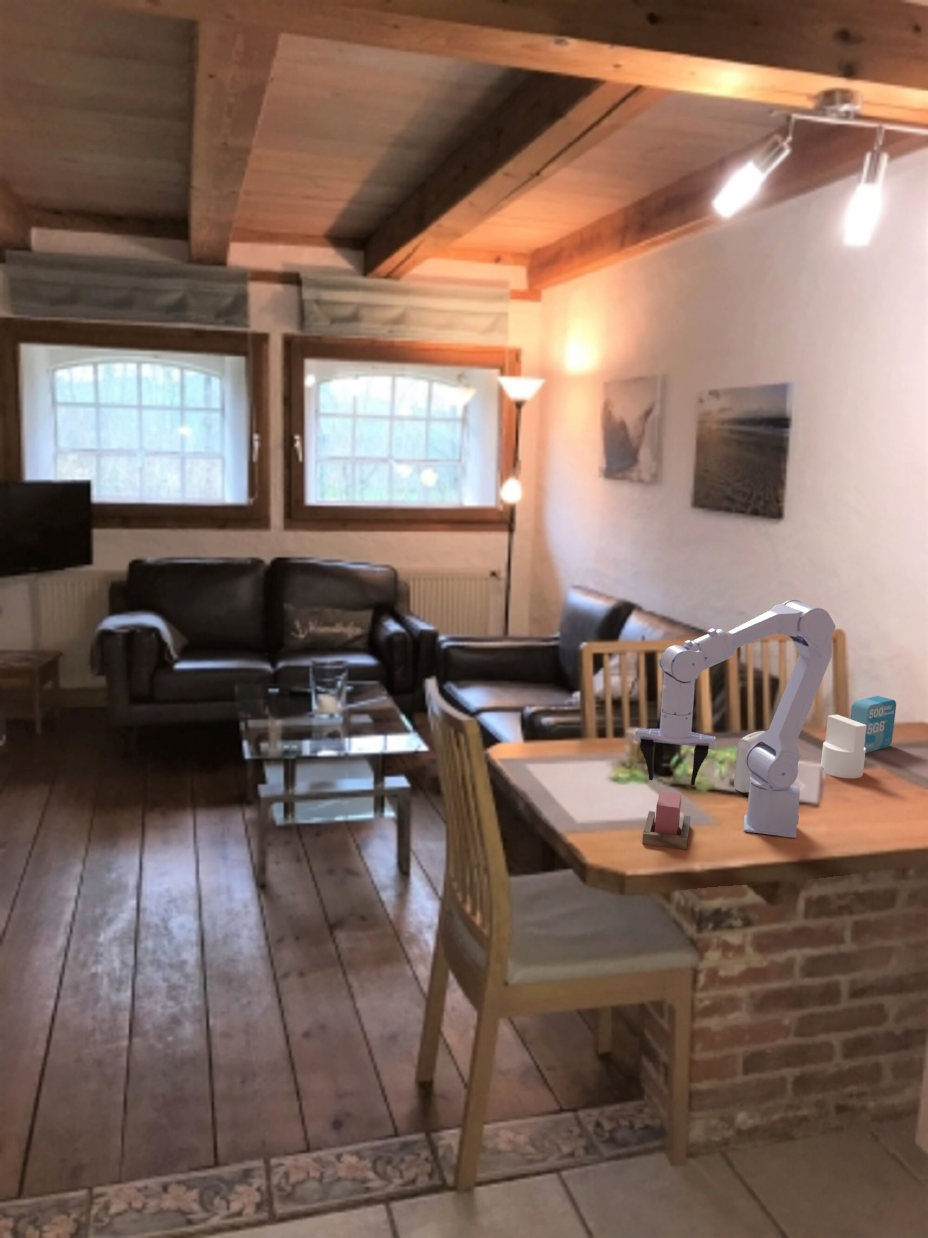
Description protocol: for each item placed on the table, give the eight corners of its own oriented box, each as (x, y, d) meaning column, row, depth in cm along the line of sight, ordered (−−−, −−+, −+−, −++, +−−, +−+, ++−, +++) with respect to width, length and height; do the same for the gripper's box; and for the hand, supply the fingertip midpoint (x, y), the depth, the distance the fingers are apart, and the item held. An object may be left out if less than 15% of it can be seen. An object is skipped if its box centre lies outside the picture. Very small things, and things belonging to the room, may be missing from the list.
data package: (862, 754, 240) (868, 705, 238) (846, 749, 244) (851, 701, 241) (891, 746, 247) (897, 699, 244) (875, 741, 250) (880, 694, 248)
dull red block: (679, 827, 193) (681, 792, 192) (675, 843, 185) (678, 807, 184) (657, 824, 194) (660, 790, 193) (654, 840, 186) (656, 805, 185)
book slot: (689, 826, 193) (690, 816, 193) (685, 849, 183) (686, 839, 182) (648, 820, 196) (649, 811, 195) (642, 843, 185) (642, 833, 184)
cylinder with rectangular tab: (812, 767, 229) (817, 716, 227) (841, 762, 233) (846, 713, 231) (841, 780, 222) (847, 728, 219) (871, 775, 225) (877, 724, 223)
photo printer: (762, 780, 220) (767, 726, 218) (778, 786, 216) (783, 731, 214) (730, 788, 214) (735, 733, 212) (745, 795, 211) (751, 738, 208)
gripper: (717, 709, 187) (712, 778, 190) (639, 701, 191) (635, 769, 194) (716, 719, 181) (711, 791, 183) (635, 711, 184) (631, 781, 187)
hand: (671, 780), depth 188 cm, fingers open, 7 cm apart
